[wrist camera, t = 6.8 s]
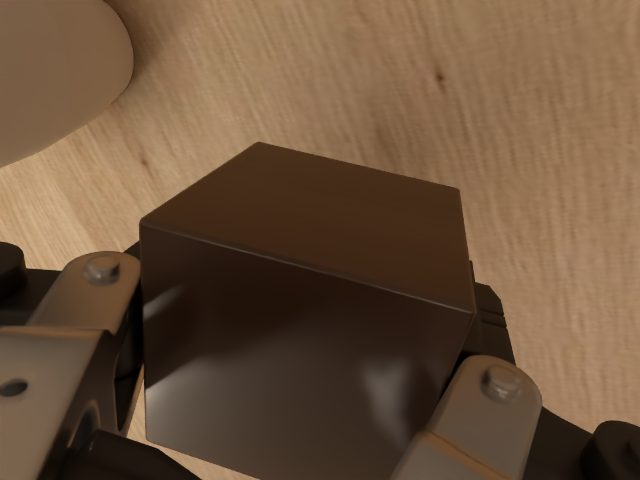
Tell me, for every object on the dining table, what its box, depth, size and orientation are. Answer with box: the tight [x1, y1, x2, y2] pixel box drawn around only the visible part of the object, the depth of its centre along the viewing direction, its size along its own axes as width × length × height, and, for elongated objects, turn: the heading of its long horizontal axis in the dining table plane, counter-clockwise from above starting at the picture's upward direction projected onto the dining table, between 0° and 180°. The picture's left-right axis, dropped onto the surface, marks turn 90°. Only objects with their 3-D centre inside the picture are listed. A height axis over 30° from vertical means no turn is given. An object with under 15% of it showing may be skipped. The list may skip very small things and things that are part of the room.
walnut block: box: [139, 142, 477, 480], centre depth 10 cm, size 5×5×5 cm
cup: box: [0, 0, 134, 168], centre depth 17 cm, size 8×8×10 cm
